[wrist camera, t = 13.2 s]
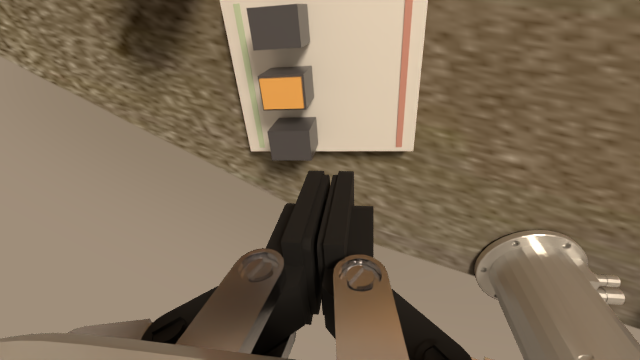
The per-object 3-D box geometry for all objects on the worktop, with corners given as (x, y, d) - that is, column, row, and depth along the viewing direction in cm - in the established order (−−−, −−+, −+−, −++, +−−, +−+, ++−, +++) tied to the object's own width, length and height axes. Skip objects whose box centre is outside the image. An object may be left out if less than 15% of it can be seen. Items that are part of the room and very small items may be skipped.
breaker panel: (425, -20, 25) (440, -26, 20) (410, 143, 32) (418, 170, 27) (228, -1, 28) (194, -3, 23) (256, 144, 35) (236, 168, 30)
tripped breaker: (311, 65, 28) (302, 74, 24) (314, 97, 29) (306, 110, 26) (271, 67, 28) (256, 76, 25) (275, 98, 30) (262, 111, 26)
